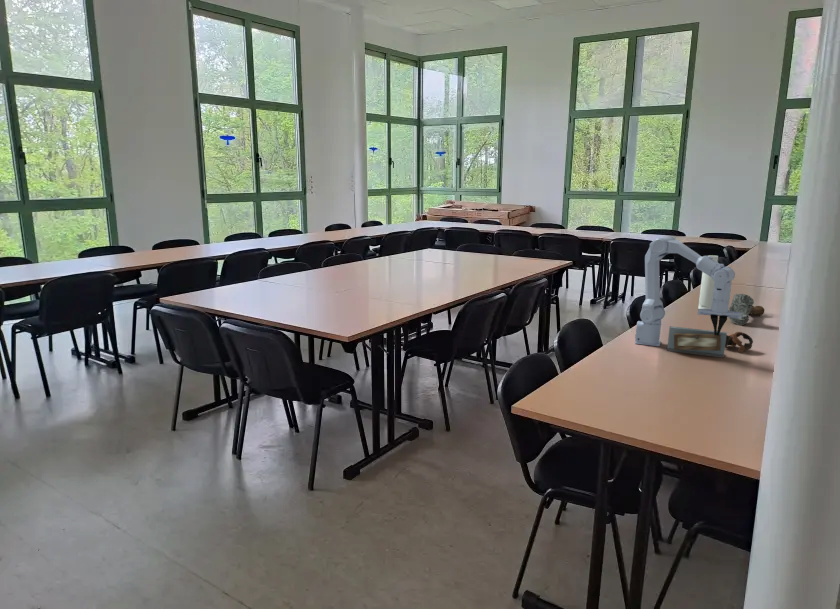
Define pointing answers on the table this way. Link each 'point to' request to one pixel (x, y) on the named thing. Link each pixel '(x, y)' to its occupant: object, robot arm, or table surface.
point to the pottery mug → (735, 341)
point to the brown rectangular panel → (697, 341)
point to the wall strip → (695, 331)
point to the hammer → (744, 308)
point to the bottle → (706, 289)
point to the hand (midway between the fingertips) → (716, 334)
